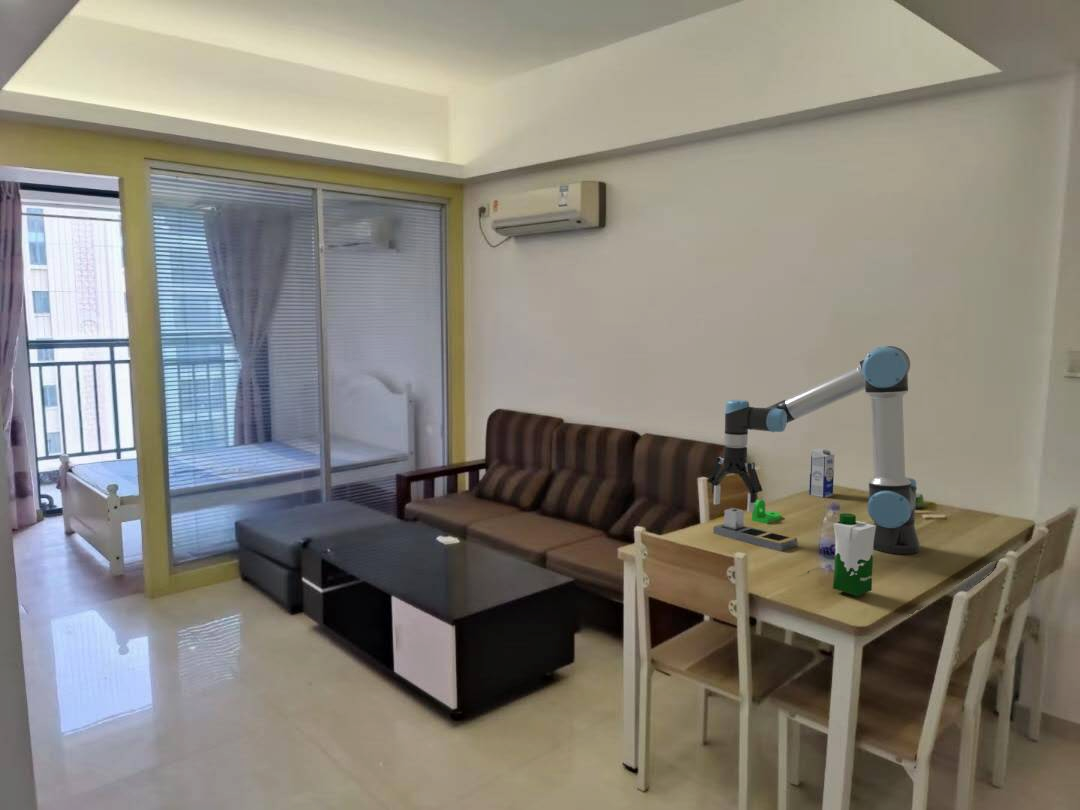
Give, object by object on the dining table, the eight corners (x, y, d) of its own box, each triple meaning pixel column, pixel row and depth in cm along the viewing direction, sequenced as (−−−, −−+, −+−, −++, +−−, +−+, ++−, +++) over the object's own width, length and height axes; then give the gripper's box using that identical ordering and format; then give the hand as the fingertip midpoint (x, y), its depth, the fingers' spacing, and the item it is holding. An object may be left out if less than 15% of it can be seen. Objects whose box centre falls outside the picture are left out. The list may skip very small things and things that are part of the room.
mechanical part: (766, 525, 261) (767, 503, 260) (751, 522, 266) (752, 500, 265) (784, 519, 269) (784, 498, 268) (769, 516, 274) (769, 495, 273)
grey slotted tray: (796, 545, 236) (797, 537, 235) (781, 551, 230) (781, 543, 230) (729, 529, 256) (729, 521, 255) (713, 533, 250) (713, 526, 250)
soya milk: (845, 581, 203) (848, 510, 201) (877, 591, 195) (880, 517, 193) (827, 588, 198) (830, 515, 195) (859, 598, 190) (862, 523, 188)
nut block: (743, 533, 249) (743, 509, 248) (735, 535, 246) (735, 512, 245) (732, 530, 252) (732, 507, 251) (724, 532, 249) (724, 509, 248)
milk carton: (817, 494, 307) (819, 447, 305) (833, 497, 302) (834, 449, 300) (808, 497, 303) (810, 449, 300) (824, 500, 297) (826, 451, 295)
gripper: (774, 449, 239) (771, 513, 241) (712, 440, 258) (710, 499, 260) (761, 452, 234) (758, 517, 236) (698, 442, 253) (696, 502, 255)
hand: (733, 507), depth 248 cm, fingers open, 13 cm apart
